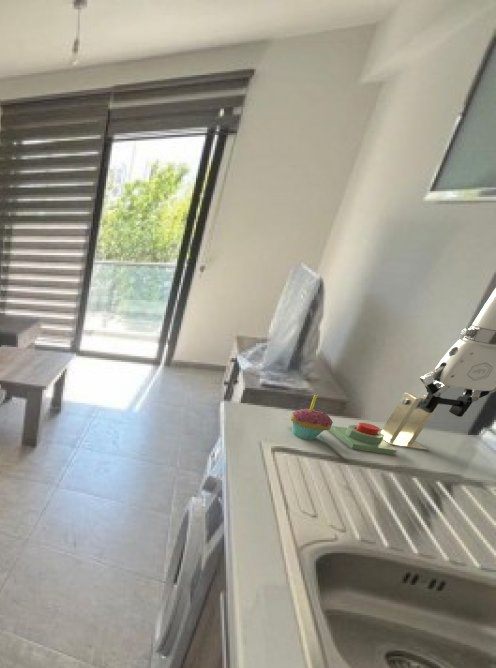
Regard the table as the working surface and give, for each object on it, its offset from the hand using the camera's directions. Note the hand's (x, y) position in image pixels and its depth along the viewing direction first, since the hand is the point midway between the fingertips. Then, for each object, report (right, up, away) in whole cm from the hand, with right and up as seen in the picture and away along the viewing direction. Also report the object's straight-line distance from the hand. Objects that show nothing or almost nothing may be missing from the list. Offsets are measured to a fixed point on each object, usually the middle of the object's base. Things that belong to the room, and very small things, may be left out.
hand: (440, 411), depth 113 cm
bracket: (+1, -7, +12) cm, 14 cm away
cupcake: (-22, -5, +12) cm, 26 cm away
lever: (+1, +1, +3) cm, 3 cm away
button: (-11, -5, +7) cm, 14 cm away
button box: (-11, -8, +9) cm, 16 cm away
